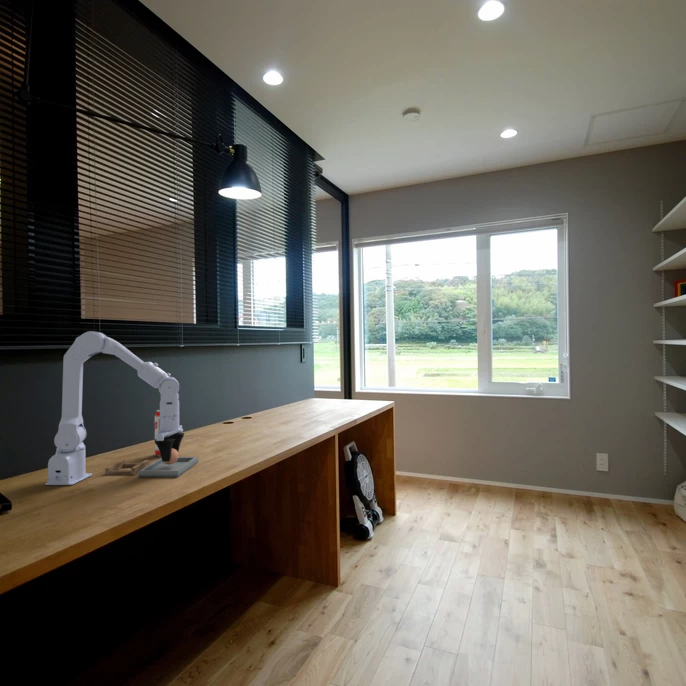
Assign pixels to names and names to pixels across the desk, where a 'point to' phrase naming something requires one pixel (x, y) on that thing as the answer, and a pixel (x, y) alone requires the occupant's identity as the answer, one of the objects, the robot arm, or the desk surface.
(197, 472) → the desk surface
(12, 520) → the desk surface
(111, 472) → the frame
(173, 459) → the ball
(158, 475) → the tray
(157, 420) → the beer can
